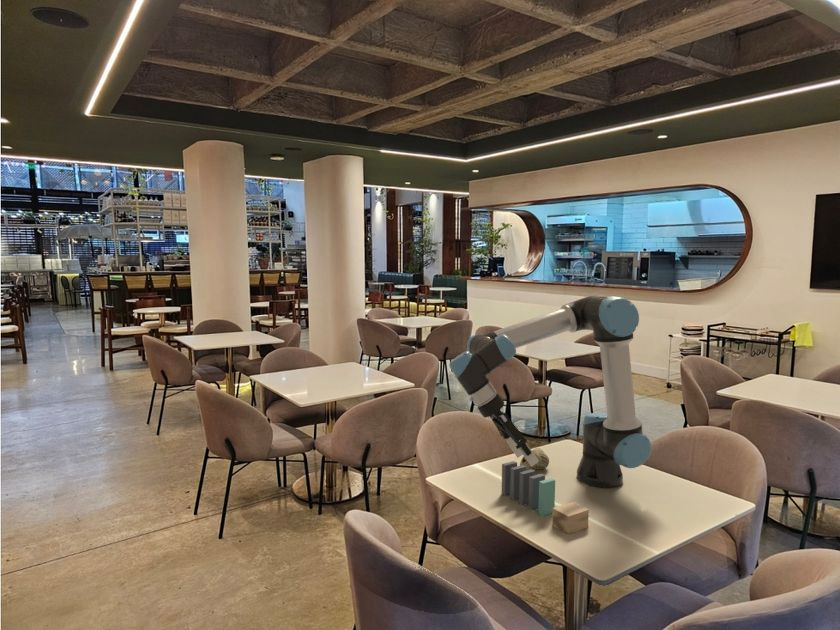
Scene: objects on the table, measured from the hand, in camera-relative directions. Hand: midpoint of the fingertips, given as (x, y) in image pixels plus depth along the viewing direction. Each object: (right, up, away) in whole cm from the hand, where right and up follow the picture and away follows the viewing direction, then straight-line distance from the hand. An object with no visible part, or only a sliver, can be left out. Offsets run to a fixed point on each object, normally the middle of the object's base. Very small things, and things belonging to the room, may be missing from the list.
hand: (527, 459), depth 158 cm
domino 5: (+6, -17, +2) cm, 18 cm away
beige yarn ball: (+10, -14, +38) cm, 41 cm away
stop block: (+11, -17, -6) cm, 21 cm away
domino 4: (+4, -16, +5) cm, 17 cm away
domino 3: (+2, -16, +9) cm, 18 cm away
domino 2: (-1, -16, +12) cm, 20 cm away
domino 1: (-3, -15, +16) cm, 22 cm away
